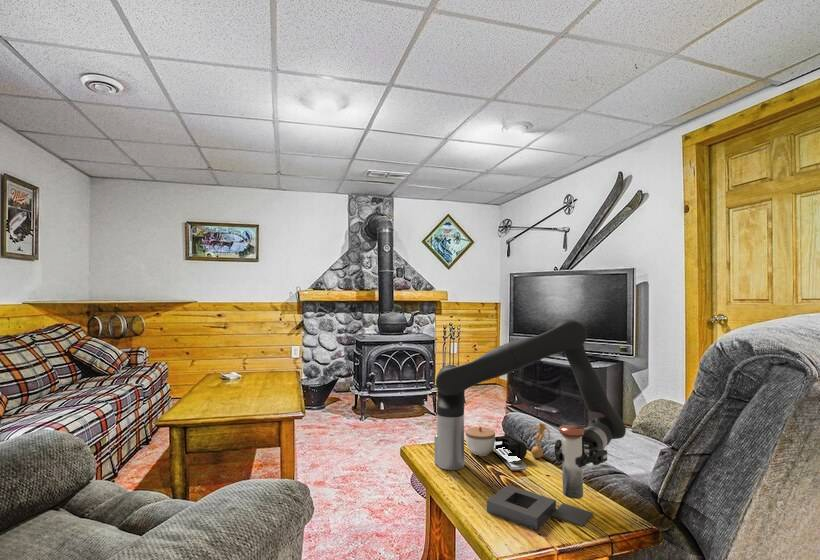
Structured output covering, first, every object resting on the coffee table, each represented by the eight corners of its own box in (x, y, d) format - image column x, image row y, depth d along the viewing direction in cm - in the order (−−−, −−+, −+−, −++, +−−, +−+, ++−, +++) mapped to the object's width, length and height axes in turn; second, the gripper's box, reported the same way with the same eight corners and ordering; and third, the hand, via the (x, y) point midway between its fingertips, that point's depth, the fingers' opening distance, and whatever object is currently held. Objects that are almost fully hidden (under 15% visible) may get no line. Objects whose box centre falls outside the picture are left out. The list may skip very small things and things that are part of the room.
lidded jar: (475, 460, 148) (475, 433, 149) (460, 450, 158) (460, 424, 159) (501, 455, 153) (501, 429, 153) (484, 446, 163) (484, 421, 163)
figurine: (524, 455, 153) (524, 421, 154) (535, 451, 157) (535, 418, 157) (542, 462, 146) (542, 427, 147) (554, 459, 150) (554, 424, 150)
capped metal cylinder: (557, 495, 112) (555, 429, 112) (565, 486, 117) (564, 423, 117) (580, 502, 108) (579, 433, 109) (588, 493, 113) (586, 427, 113)
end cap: (527, 460, 149) (527, 441, 149) (509, 463, 146) (509, 443, 146) (511, 450, 158) (511, 432, 158) (494, 453, 156) (494, 434, 156)
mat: (551, 516, 112) (551, 514, 112) (562, 504, 118) (562, 502, 118) (582, 526, 107) (582, 525, 107) (593, 514, 113) (593, 512, 113)
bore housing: (486, 511, 114) (486, 500, 114) (508, 495, 123) (508, 484, 123) (536, 530, 105) (536, 518, 105) (555, 511, 114) (555, 500, 114)
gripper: (564, 424, 128) (541, 440, 115) (616, 434, 119) (597, 452, 106) (565, 449, 128) (542, 468, 115) (616, 461, 119) (597, 483, 106)
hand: (568, 460), depth 111 cm, fingers closed on capped metal cylinder, 5 cm apart
